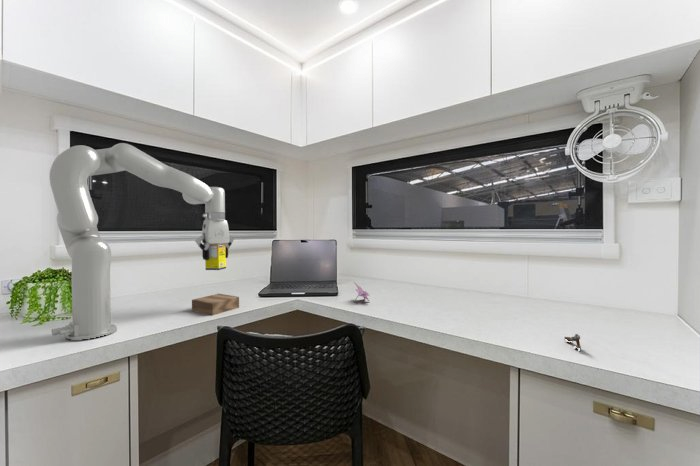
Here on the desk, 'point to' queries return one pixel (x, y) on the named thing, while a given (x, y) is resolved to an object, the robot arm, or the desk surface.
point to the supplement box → (216, 257)
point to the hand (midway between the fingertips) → (215, 258)
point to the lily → (362, 292)
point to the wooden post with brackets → (575, 338)
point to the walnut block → (215, 304)
